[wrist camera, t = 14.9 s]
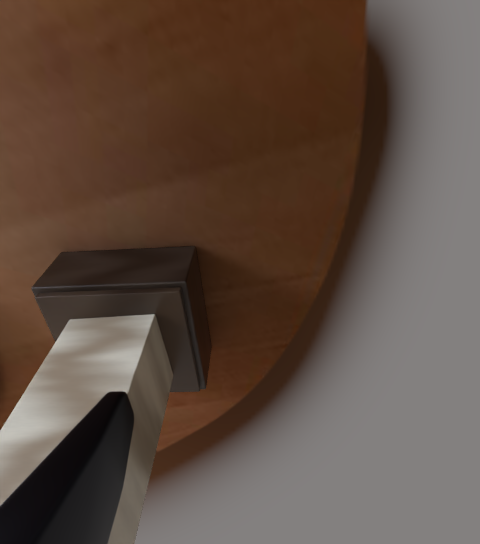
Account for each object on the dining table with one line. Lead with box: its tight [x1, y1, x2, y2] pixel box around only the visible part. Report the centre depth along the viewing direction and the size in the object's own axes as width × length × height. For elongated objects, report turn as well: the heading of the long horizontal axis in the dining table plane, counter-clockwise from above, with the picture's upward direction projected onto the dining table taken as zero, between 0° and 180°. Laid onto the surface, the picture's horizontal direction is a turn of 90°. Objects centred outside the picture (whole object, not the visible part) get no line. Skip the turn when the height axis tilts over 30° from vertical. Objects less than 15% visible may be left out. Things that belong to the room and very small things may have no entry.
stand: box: [32, 246, 212, 392], centre depth 22 cm, size 8×8×4 cm
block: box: [0, 314, 173, 544], centre depth 15 cm, size 5×5×13 cm
